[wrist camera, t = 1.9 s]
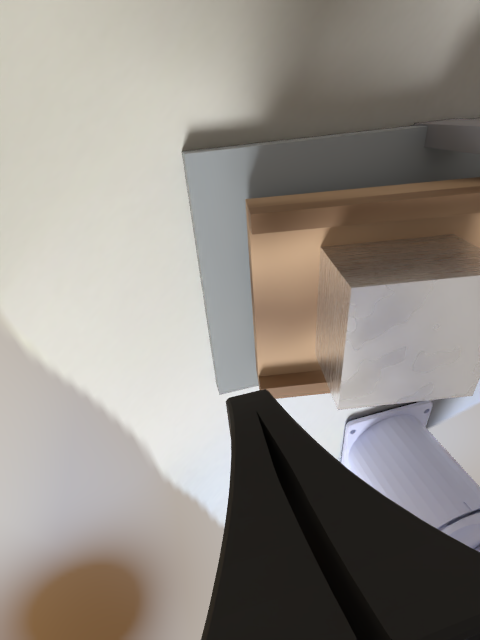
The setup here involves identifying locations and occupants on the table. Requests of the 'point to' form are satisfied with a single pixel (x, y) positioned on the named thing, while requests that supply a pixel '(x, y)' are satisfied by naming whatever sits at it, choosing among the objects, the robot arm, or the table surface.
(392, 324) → the block
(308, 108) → the table surface
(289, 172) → the pivot stand
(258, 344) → the beam
